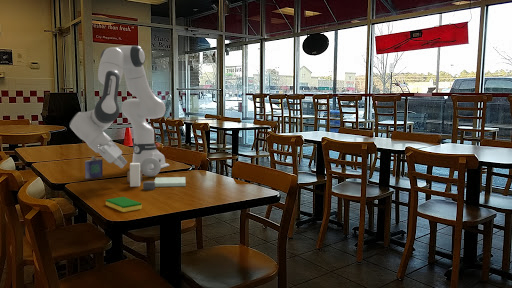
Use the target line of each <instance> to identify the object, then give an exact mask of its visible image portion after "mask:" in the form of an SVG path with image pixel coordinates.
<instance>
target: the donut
mask: <svg viewBox="0 0 512 288" xmlns="http://www.w3.org/2000/svg"><path fill="white" fill-rule="evenodd" d="M149 164H153V165H154V168H153V169H148V168H147V166H148V165H149ZM140 168H141V171H142V175H144V176H145V177H150V178H151V177H155V176H157V175H158V174H159V173H160V171H161V169H162V168H161V165H160V162H159V160H157V159H156V158H154V157H148V158H146V159H144V160H143V161H142V163H141V167H140Z"/></svg>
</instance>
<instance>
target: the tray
mask: <svg viewBox="0 0 512 288" xmlns="http://www.w3.org/2000/svg"><path fill="white" fill-rule="evenodd" d="M154 182H155V188H157V187H186V176H182V177H181V176H180V177H179V176H177V177H176V176H174V177H173V176H172V177H171V176H169V177H167V176H166V177H163V176H162V177H155V179H154Z"/></svg>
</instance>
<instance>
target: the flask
mask: <svg viewBox="0 0 512 288" xmlns="http://www.w3.org/2000/svg"><path fill="white" fill-rule="evenodd" d="M103 164H104V163H103V159H102V158H99V157H96V158H95V156H94V155H92V156H91V159H89V160H85V161H84V167H85V169H84V171H85V172H84V173H85V174H84V175H85V177H84V179H85V180H93V179H98V178H99V179H100V178H103V170H104V169H103Z"/></svg>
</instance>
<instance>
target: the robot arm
mask: <svg viewBox="0 0 512 288" xmlns="http://www.w3.org/2000/svg"><path fill="white" fill-rule="evenodd" d="M145 54H146V53H145V51H144V49H143V48H142V47H141V46H140V45H120V46H115V47H113V46H112V47H111V46H110V47H107V48H104V49H103V50H102V51H101V53H100V62H99V65H98V71H97V80H98V82H100V84H102V85H103V86H102V87H103V88H102V94H101V98H100V99H99V100H98V101H97V102H96V103H95V106H94V109H91V110H88V111H78V112H76V113H75V114H74V116H73V117H72V118H71V120H70V122H69V128H70V129H71V131H73V132H74V134H75V135H76V136H77V137H78V138H79V139H80V140H82V141H83V142H85V143H86V144H87V146H88V147H89V149H92V150H93V152H95V153H96V154H99V155H100V156H101V157H102V158H103V159H104V160H105V161H106V162H107V163H109V164H112V163H113V164H114V165H116V166H118V167H119V168H120V169H123V168H124V167H125V166H126V165H127V164H128V161H127V160H126V159H125V157H124V156H123V155H122V154H123V151H122V149H120V147H119V146H118V145H117V144H116V142H114V141H113V138H111V136H109V135H108V134H107V133H106V132H105V130H107V129H108V128H109V127H110V126H111V125H112V124H113V123H114V122H115V120H116V119H118V117H119V116H120V106H119V103H118V96H119V94H118V93H119V87H120V84H121V82H122V79H123V76H124V80H125V83H126V88H127V90H128V91H127V92H129V93H130V94H131V95H133V96H134V97H136V98H129V99H125V100H124V101H122V104H121V112H122V114H123V116H125V117H126V118H127V119H128V121H129V122H130V125H131V127H132V133H133V144H132V151H133V154H132V162H131V163H140V167H141V163H142V161H143V160H144V159H146V158H148V157H154V158H156V159H157V160H159V162H160V165H161V168H160V169H163V168H167V167H169V166H170V164H169V163H166V157H165V155H164V154H163V153H162V152H160V151H159V150H158V149H157V148H159V147H160V143H157V142H156V143H155V130H154V127H152V126H151V125H150V124H148V122H147V120H148V119H150V120H151V119H153V120H155V119H159V118H162V117H163V116H164V115H165V114H166V110H167V108H166V104H165V103H164V101H163V100H162V99H160V98H159V97H158V96H156V95H155V94H154V91H152V89H151V87H150V84H149V82H148V78H147V74H146V70H145V67H144V64H145V62H146V55H145ZM146 119H147V120H146ZM147 168H148V169H149V170H153V168H154V165H153V164H149V165H148V166H147ZM140 170H141V168H140Z"/></svg>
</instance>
